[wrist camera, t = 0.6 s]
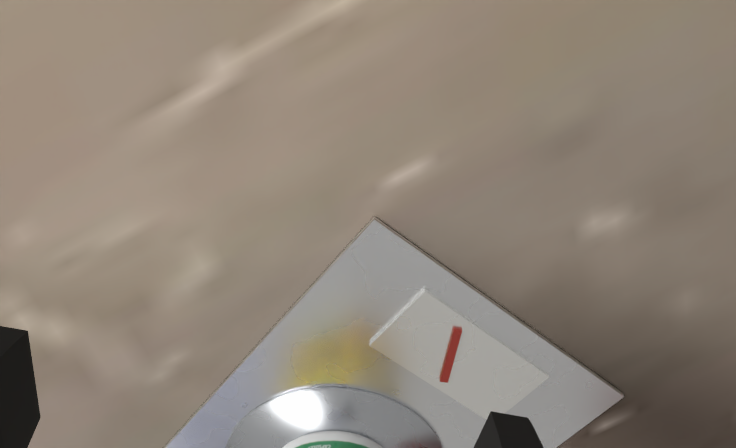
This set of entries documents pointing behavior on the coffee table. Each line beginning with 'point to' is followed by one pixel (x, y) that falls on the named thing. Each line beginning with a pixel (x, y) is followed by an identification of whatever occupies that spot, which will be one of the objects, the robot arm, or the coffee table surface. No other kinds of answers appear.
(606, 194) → the coffee table surface
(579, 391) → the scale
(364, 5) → the coffee table surface
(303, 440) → the supplement bottle
